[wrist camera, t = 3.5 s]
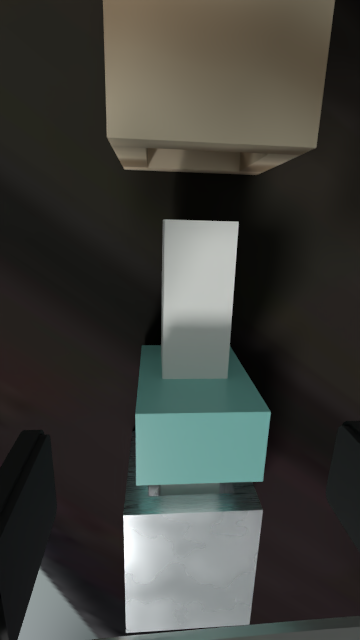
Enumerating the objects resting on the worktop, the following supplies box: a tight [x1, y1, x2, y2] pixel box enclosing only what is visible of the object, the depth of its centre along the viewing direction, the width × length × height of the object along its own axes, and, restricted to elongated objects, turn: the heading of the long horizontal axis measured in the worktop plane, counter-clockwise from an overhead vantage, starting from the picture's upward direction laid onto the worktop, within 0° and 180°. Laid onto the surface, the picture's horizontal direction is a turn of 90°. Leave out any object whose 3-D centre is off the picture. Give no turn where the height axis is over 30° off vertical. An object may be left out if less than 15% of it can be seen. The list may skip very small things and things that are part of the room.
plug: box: [135, 219, 271, 496], centre depth 16 cm, size 18×5×7 cm, turn 178°
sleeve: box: [124, 431, 263, 633], centre depth 18 cm, size 7×6×6 cm
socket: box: [103, 0, 335, 175], centre depth 13 cm, size 4×6×6 cm
